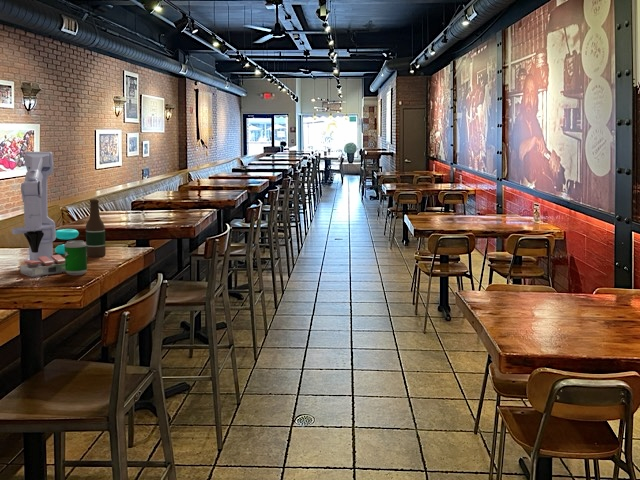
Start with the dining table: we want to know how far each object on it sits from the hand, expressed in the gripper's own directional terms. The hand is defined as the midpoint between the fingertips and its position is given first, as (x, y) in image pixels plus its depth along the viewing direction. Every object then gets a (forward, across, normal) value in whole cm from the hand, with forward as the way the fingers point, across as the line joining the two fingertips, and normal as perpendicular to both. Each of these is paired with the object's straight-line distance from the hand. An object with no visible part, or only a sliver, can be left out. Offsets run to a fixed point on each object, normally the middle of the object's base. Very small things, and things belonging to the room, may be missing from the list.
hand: (34, 252), depth 236 cm
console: (+8, +5, +2) cm, 10 cm away
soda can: (+9, +11, -8) cm, 16 cm away
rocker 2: (+4, +5, +2) cm, 7 cm away
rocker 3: (+4, +10, +2) cm, 11 cm away
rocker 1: (+4, 0, +2) cm, 5 cm away
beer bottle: (+9, +36, +22) cm, 43 cm away
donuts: (+9, +31, +37) cm, 49 cm away
